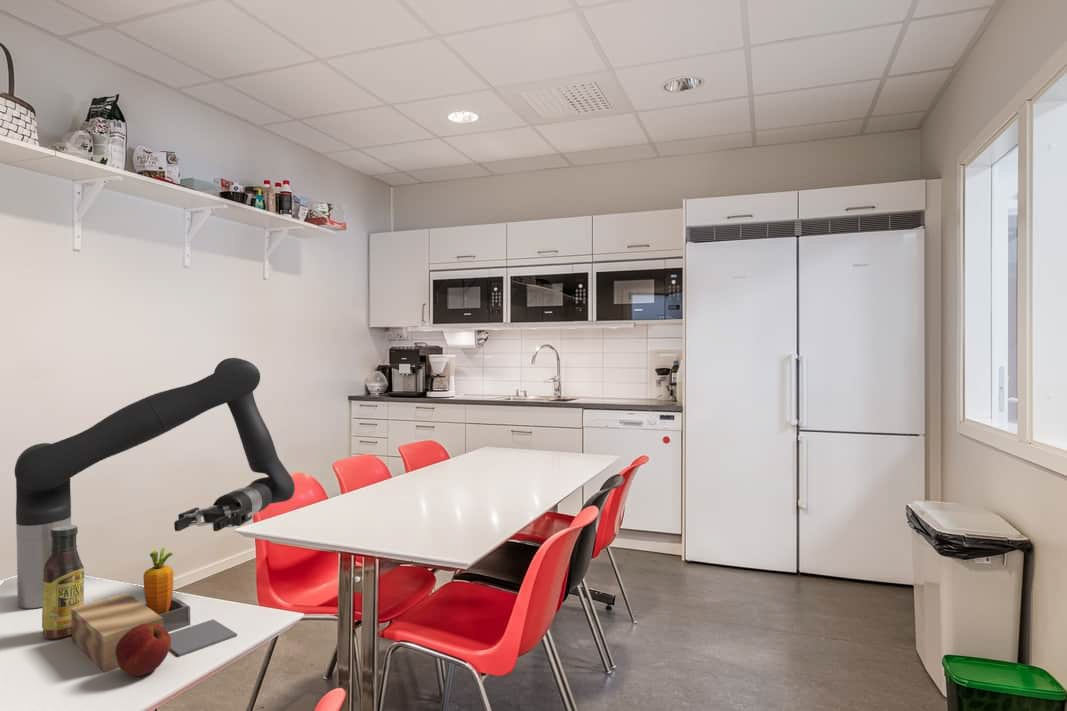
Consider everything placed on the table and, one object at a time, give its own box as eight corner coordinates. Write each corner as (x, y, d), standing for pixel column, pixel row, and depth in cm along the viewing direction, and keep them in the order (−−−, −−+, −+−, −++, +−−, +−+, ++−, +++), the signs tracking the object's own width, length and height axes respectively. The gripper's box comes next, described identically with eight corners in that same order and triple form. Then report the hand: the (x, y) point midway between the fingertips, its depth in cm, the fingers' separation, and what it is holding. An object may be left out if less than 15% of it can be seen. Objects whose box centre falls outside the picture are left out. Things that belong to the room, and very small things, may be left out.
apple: (148, 685, 99) (147, 635, 99) (103, 683, 100) (102, 633, 100) (179, 662, 106) (178, 615, 106) (136, 660, 107) (136, 614, 107)
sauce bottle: (61, 642, 114) (59, 533, 114) (33, 639, 115) (31, 532, 115) (93, 626, 121) (91, 523, 120) (66, 624, 122) (64, 522, 122)
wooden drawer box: (71, 640, 115) (71, 608, 115) (169, 611, 127) (169, 581, 127) (104, 672, 103) (103, 636, 103) (208, 636, 116) (207, 604, 116)
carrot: (161, 618, 124) (160, 543, 124) (180, 622, 122) (178, 546, 122) (138, 629, 119) (136, 551, 119) (156, 633, 117) (155, 554, 117)
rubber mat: (157, 639, 115) (156, 637, 115) (213, 621, 122) (213, 619, 122) (179, 656, 108) (179, 654, 108) (237, 635, 116) (237, 633, 116)
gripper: (208, 490, 148) (162, 508, 132) (266, 490, 147) (227, 508, 131) (210, 522, 148) (164, 544, 132) (267, 521, 147) (228, 544, 131)
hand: (195, 526), depth 132 cm, fingers open, 8 cm apart
